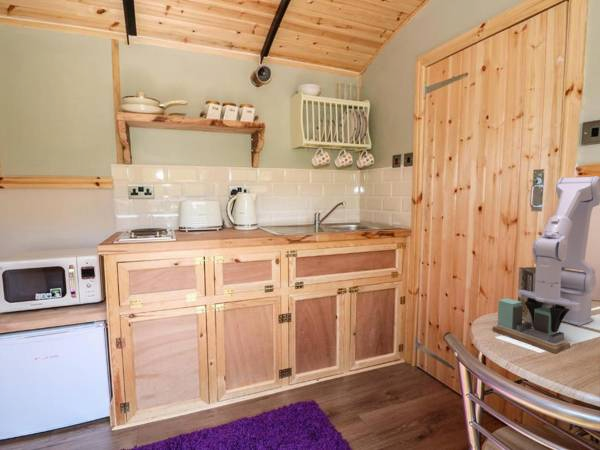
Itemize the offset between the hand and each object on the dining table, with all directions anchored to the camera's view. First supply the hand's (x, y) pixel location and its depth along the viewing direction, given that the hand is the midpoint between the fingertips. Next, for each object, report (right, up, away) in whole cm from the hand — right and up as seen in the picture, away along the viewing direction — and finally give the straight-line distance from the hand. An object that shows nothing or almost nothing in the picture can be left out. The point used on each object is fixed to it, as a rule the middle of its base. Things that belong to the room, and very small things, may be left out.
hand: (545, 328), depth 95 cm
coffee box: (+4, -1, +10) cm, 11 cm away
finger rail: (-6, -2, -3) cm, 7 cm away
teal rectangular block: (0, -2, 0) cm, 2 cm away
